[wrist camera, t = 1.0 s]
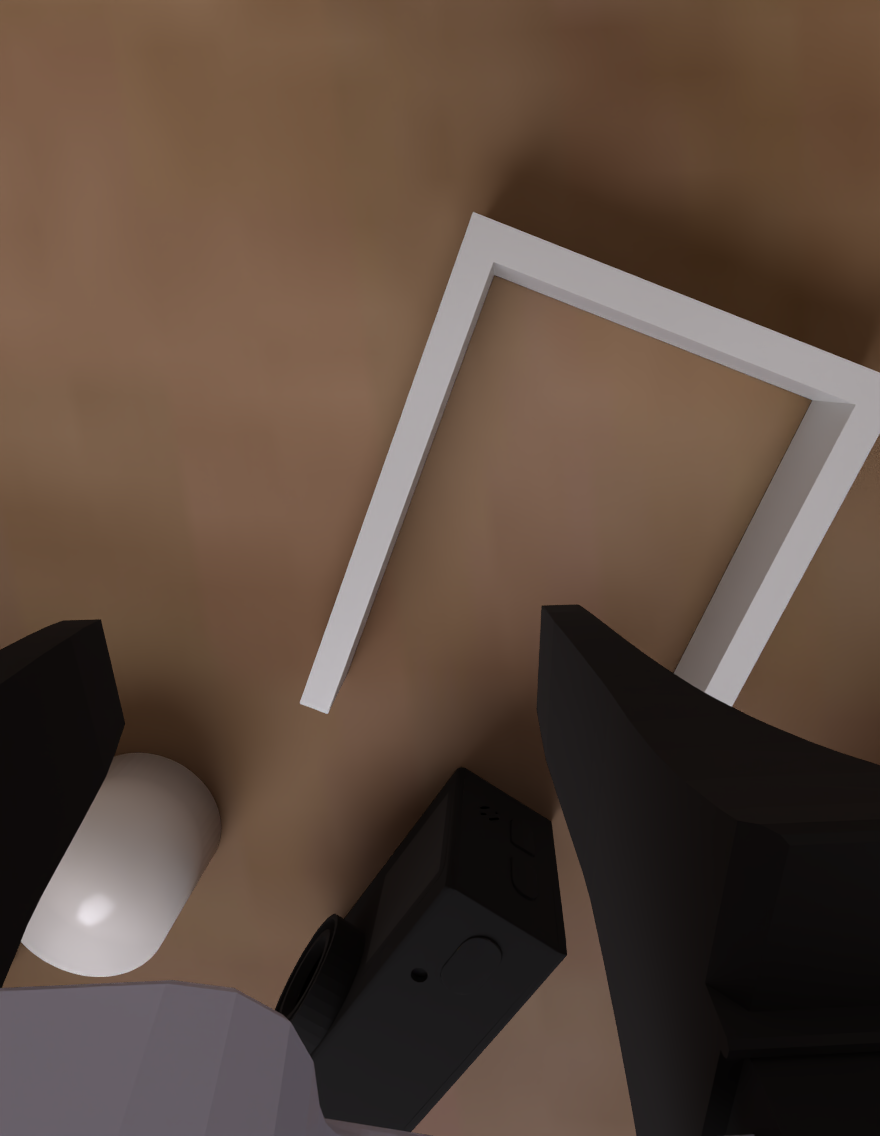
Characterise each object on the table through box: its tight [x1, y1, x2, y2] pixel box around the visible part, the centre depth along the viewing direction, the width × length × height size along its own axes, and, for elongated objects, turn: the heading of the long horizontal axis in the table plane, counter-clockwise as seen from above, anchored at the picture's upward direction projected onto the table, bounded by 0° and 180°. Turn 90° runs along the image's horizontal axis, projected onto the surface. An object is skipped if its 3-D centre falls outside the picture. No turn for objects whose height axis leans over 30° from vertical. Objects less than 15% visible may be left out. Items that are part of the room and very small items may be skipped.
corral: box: [300, 212, 880, 714], centre depth 24 cm, size 13×16×3 cm
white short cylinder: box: [21, 753, 221, 977], centre depth 28 cm, size 6×6×5 cm
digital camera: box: [275, 767, 567, 1132], centre depth 26 cm, size 10×5×7 cm, turn 147°
